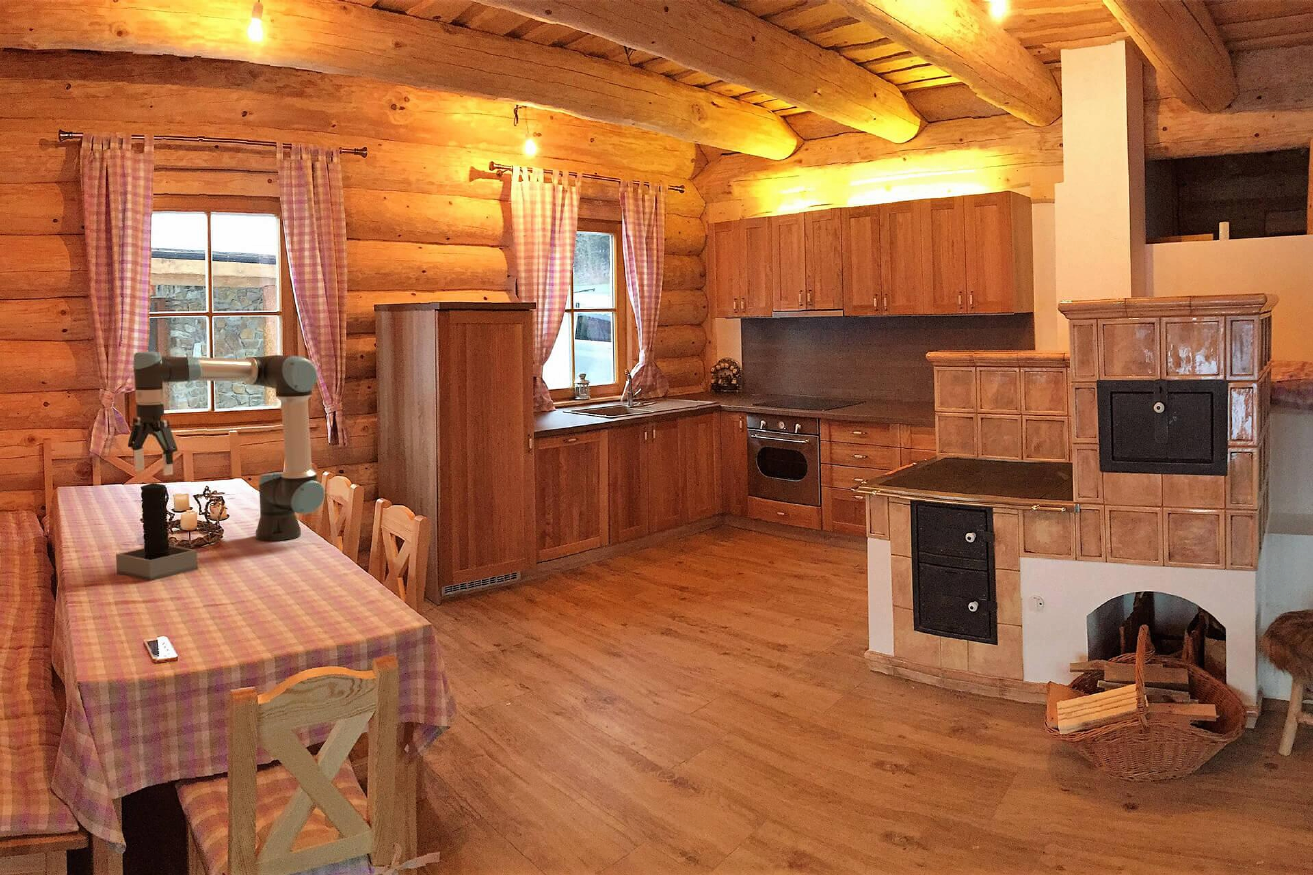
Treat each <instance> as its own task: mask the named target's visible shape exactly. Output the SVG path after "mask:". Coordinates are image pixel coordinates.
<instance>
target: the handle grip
mask: <svg viewBox="0 0 1313 875" xmlns="http://www.w3.org/2000/svg"><path fill="white" fill-rule="evenodd" d="M140 490H141V493H140V497H141V500H140V501H141V509H142V510H141V512H142V514H141V518H142V529H143V544H144V546H143V548H144V550H145V552H144V553H145V554H146V555H145V559H148V560H152V559H157V558H161V557H166V556H170V555H169V552H168V551H169V549H168V548H169V545H170V542H169V532H168V531H169V529H168V527H169V525H168V524H169V523H168V512H167V511H168V509H167V498H166V497H167V491H166V484H160V483H154V482H152V483H149V484H146V485H142V486H140Z"/></svg>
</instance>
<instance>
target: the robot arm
mask: <svg viewBox="0 0 1313 875" xmlns="http://www.w3.org/2000/svg"><path fill="white" fill-rule="evenodd" d="M132 368H133V375H134V378H133V379H134V393H135V394H134V395H135V402H136V403H137V404H136V405H135V410H136V417H133V418H132V428H131V431H130V435H129V438H128V439H129V440H128V442H127V446H128V448H131V450H132V452H133V462H134V463H133V464H134V472H142V471H145V470H146V469H145V455H144V454H145V453H144V447H143V446H144V444H145V442H146V440H147V438H148V436H149V435H151V436H152V437H155V438H156V440H157V441H156V442H157V443H158V444H159V446H160V448H161V449H162V451H163V452H162V454H161V455H162V456H161V457H162V458H161V459H162V472H163V473H162V474H163V476H171V475H173V474H174V465H173V464H174V456H173V455H174V454H173V453H176V452H178V446H177V444H176V440H175V438H174V435H173V432H172V430H171V427H170V421H169V420H168V419H167V420H166V419H164V420H162V417H163V416H165V405H164V404H163V402H164V401H165V400H164V399H165V398H164V383H180V382H182V383H183V382H188V383H189V382H194V381H199V382H200V381H201V382H202V381H205V382H206V381H207V382H208V381H209V382H210V381H211V382H236V383H237V382H240V383H241V382H242V383H243V382H244V384H245V385H248V386H250V385H251V386H258V387H259V386H261V387H265V388H271V389H275V397H276V398H277V399H278V400H279V401H280V402H281V403H280V404H281V405H280V406H281V420H282V421H281V422H282V435H283V449H284V451H283V452H284V464H285V466H284V467H285V470H284V471H278V472H271V473H264V474H261V475H260V476H259V478H258V480H259V481H258V487H259V488H258V492H259V495H258V496H259V510H260V511H259V515H260V516H259V519H258V522H257V523H258V524H257V527H256V530H255V539H256V540H259V541H267V542H277V541H280V542H281V541H286V540H285V539H289V540H293V539H292V538H294V539H296V538H295V537H297V538H300V537H301V536H302V529H301V526H300V524H299V521H298V518H297V515H296V514H308V515H309V514H312V513H314V512H316V511H317V510H318V509H319V508H320V507H321V506H322V505H323V503H324V500H325V496H326V494H325V491H326V490H325V487H324V486H323V485H322V484H321V482H319V481H318V473H317V472H316V471H315V469H313V465H312V464H313V463H312V450H311V449H312V448H311V446H312V445H311V435H310V434H311V433H310V432H311V431H310V419H309V418H310V415H309V402H308V401H309V399H311V397H312V396H313V391H312V390H313V389H314V388H315V385H316V384H317V383H318V376H319V374H318V371H317V368H316V366H315V364H314V363H313V362H312V361H310V360H309V359H308V358H305V357H302V356H299V355H279V354H275V355H264V356H246V357H245V358H243V359H241V358H224V357H222V358H219V357H217V358H216V357H197V356H195V357H194V356H169V355H162V354H161V353H160V352H159V351H137V352H135V353H134V354H133V367H132ZM300 535H301V536H300Z"/></svg>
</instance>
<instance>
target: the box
mask: <svg viewBox="0 0 1313 875" xmlns="http://www.w3.org/2000/svg"><path fill="white" fill-rule="evenodd" d="M168 549H169V551H168V552H169V555H170V556H166V557H161V558H157V559H152V560H148V559H145V555H146V554H145V553H144V552H145V550H144V547H143V548H139V549H138V548H137V549H134V550H130V551H126V552H125V551H124V552H119V553H115V559H116V560H115V564H116V574H118V575H124V576H128V577H130V578H131V577H133V578H137V579H141V580H145V581H150V582H151V581H156V580H159V579H164V578H167V577H172V576H175V575H180V574H183V573H187V572H190V571H191V572H192V571H196V570H198V569H199V568H198V565H199V564H198V550H197V549H192V548H187V547H183V546H176V545H171V544H169V548H168Z"/></svg>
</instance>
